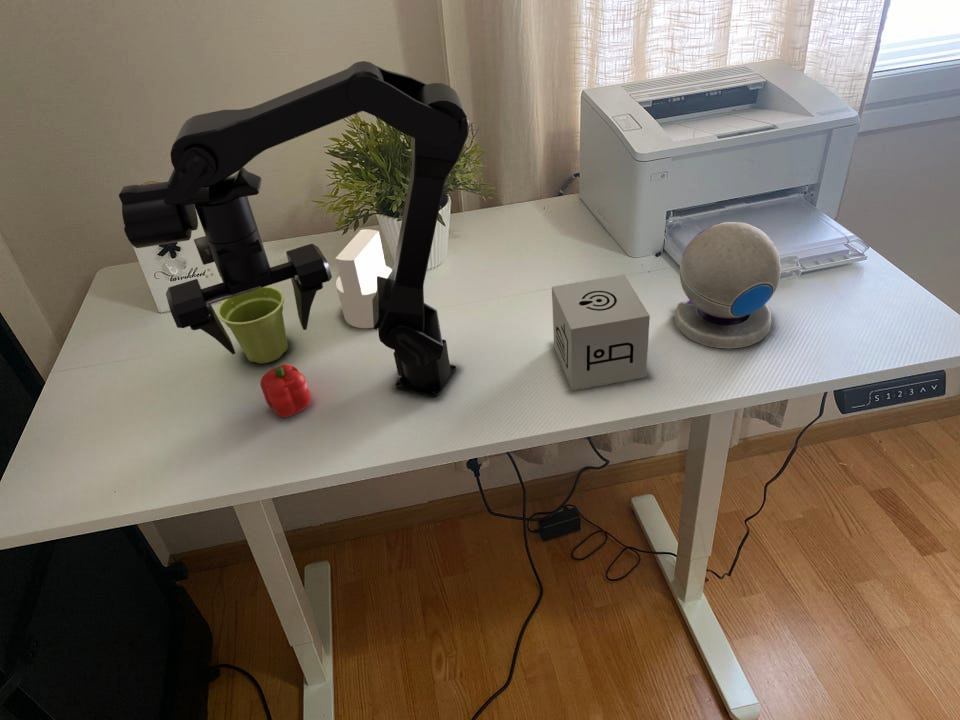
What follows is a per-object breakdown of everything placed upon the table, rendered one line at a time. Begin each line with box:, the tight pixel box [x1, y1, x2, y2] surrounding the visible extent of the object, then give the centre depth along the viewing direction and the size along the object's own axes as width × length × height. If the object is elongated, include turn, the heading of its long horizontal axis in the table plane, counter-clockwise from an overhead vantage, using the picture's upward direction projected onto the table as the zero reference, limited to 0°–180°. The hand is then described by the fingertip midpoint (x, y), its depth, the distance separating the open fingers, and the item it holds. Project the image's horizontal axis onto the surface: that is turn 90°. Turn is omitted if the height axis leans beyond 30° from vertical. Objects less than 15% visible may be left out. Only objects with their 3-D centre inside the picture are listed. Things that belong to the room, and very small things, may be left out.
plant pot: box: [216, 285, 289, 364], centre depth 107 cm, size 9×9×9 cm
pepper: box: [259, 363, 311, 418], centre depth 97 cm, size 6×6×7 cm
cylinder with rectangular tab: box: [335, 229, 393, 329], centre depth 112 cm, size 9×9×12 cm
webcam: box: [674, 221, 782, 349], centre depth 100 cm, size 13×13×15 cm
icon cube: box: [551, 274, 651, 392], centre depth 98 cm, size 10×10×10 cm
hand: (269, 340), depth 94 cm, fingers open, 9 cm apart
